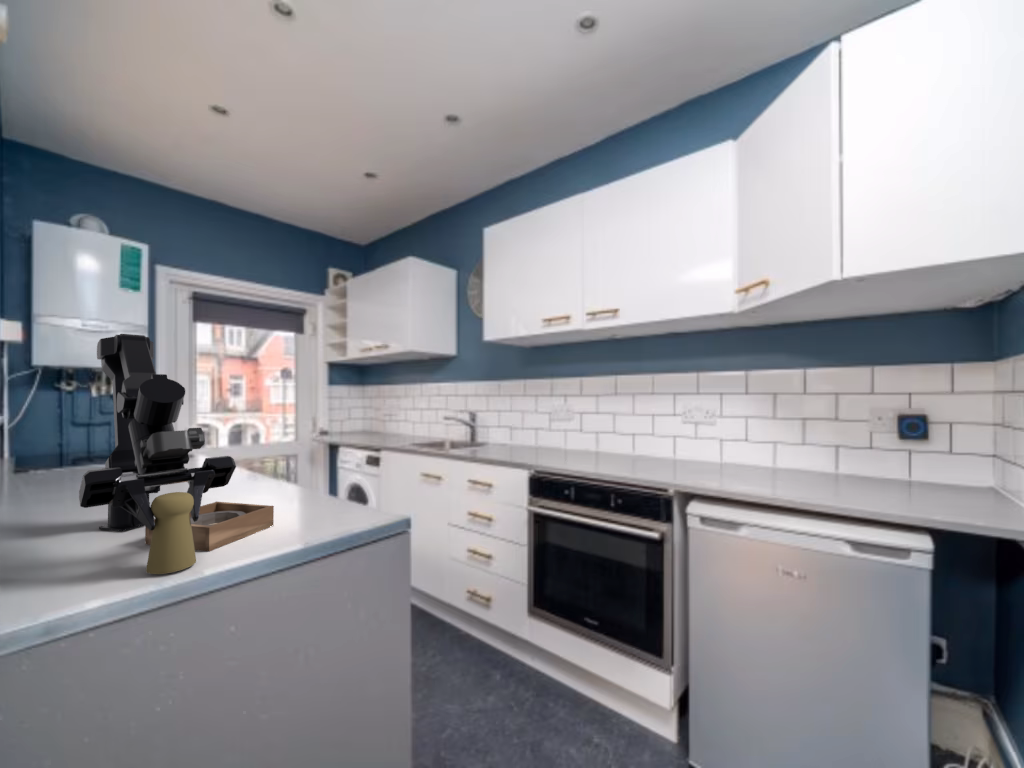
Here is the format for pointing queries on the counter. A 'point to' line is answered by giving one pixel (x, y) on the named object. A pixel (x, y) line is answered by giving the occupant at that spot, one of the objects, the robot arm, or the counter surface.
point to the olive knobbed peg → (171, 534)
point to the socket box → (225, 524)
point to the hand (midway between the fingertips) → (175, 524)
